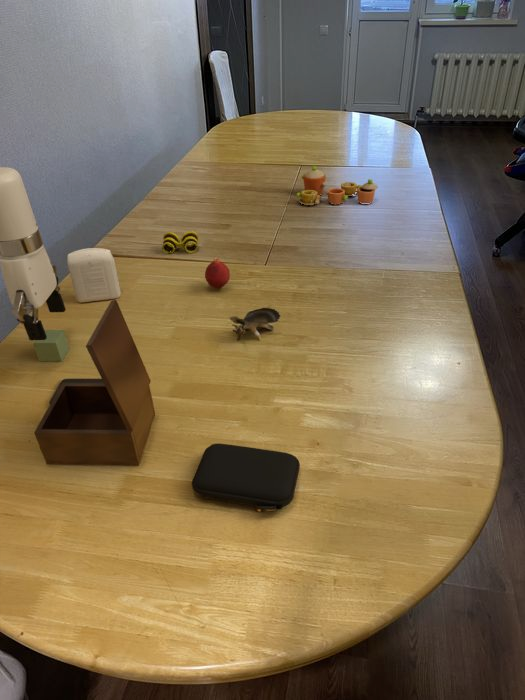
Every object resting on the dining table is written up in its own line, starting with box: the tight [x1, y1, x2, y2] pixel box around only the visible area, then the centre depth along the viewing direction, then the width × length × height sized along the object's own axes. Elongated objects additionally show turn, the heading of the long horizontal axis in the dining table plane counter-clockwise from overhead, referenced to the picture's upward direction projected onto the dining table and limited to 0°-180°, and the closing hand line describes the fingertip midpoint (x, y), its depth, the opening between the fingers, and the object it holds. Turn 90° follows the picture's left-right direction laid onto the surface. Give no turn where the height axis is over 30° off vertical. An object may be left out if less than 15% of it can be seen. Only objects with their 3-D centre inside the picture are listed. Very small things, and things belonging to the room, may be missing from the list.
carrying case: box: [191, 442, 301, 513], centre depth 75 cm, size 11×3×15 cm
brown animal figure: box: [229, 307, 282, 341], centre depth 106 cm, size 8×7×9 cm
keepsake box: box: [33, 383, 156, 467], centre depth 82 cm, size 15×12×7 cm
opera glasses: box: [161, 230, 199, 255], centre depth 141 cm, size 10×5×5 cm, turn 92°
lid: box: [85, 299, 152, 432], centre depth 75 cm, size 16×12×1 cm
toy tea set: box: [295, 165, 379, 206], centre depth 169 cm, size 26×16×10 cm, turn 85°
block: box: [33, 329, 70, 362], centre depth 103 cm, size 4×4×4 cm
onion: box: [204, 257, 231, 290], centre depth 122 cm, size 6×6×8 cm
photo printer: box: [66, 247, 122, 303], centre depth 119 cm, size 10×4×12 cm, turn 102°
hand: (48, 324), depth 100 cm, fingers open, 9 cm apart
